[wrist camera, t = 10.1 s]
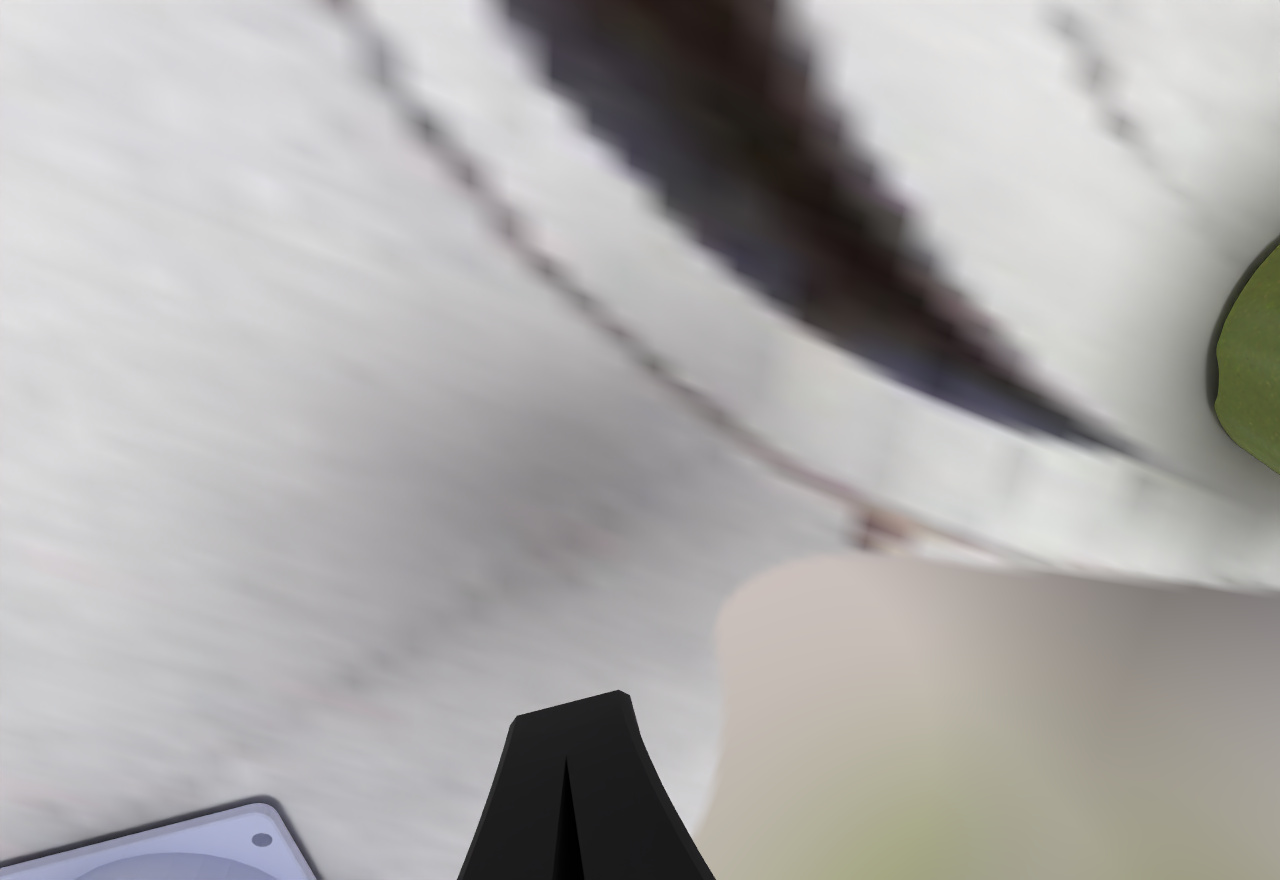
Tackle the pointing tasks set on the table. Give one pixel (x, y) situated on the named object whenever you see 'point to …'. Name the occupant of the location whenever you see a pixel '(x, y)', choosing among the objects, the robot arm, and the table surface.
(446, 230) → the table surface
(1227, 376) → the plant pot
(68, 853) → the robot arm
